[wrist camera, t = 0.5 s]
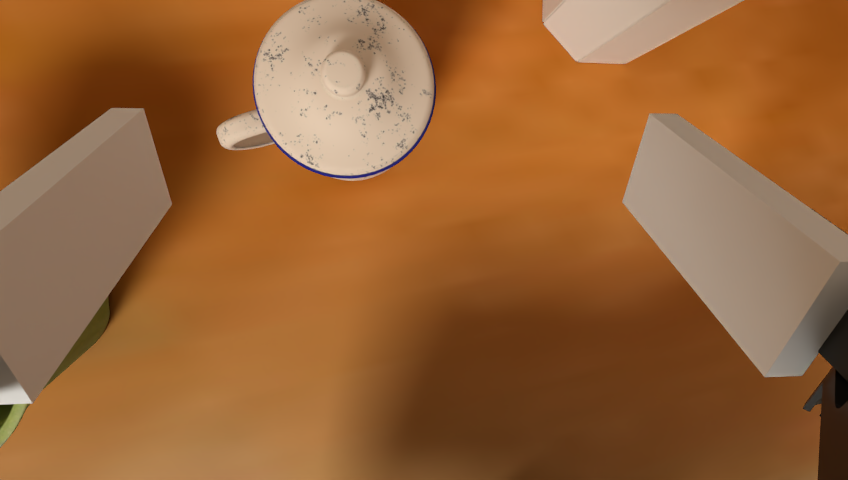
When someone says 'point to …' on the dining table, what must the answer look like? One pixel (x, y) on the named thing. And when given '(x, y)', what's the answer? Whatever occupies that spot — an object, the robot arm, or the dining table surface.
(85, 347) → the plant pot
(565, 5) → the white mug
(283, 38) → the teacup with lid
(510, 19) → the dining table surface
